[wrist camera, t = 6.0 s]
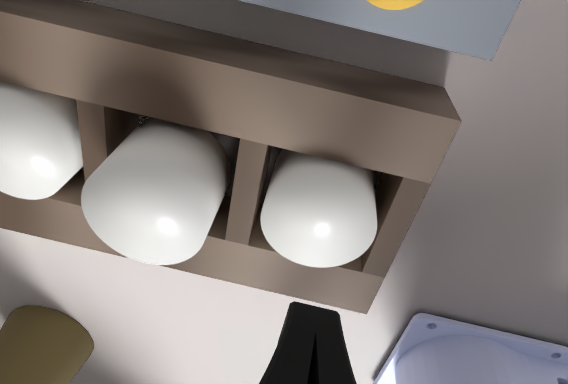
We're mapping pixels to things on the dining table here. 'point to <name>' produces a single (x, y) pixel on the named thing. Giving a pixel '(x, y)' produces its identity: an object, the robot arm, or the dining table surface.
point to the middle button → (158, 192)
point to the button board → (227, 132)
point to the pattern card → (416, 20)
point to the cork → (42, 347)
